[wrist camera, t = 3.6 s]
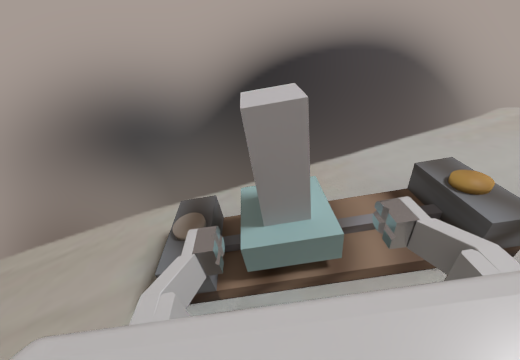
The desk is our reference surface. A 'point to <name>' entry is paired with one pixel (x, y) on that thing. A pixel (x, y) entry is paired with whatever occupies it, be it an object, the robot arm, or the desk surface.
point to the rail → (357, 232)
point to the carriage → (283, 185)
